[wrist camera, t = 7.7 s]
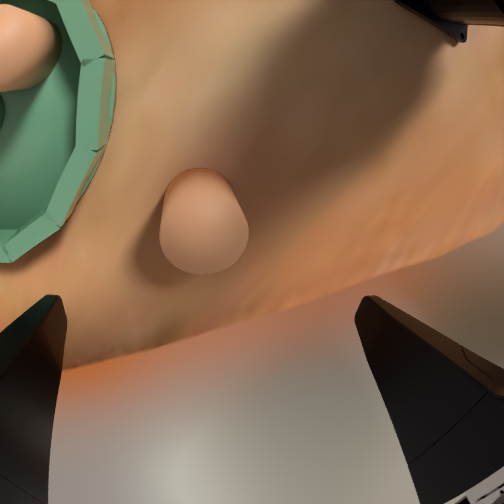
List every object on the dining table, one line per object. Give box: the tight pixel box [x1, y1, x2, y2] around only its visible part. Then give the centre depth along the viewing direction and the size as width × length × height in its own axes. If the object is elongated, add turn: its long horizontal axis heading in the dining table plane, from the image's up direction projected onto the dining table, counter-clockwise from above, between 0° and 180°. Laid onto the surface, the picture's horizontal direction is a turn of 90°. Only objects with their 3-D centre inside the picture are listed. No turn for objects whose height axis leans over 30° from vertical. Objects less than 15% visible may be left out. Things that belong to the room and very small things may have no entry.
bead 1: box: [0, 4, 62, 92], centre depth 7 cm, size 4×4×4 cm
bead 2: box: [159, 168, 249, 275], centre depth 14 cm, size 4×4×4 cm
